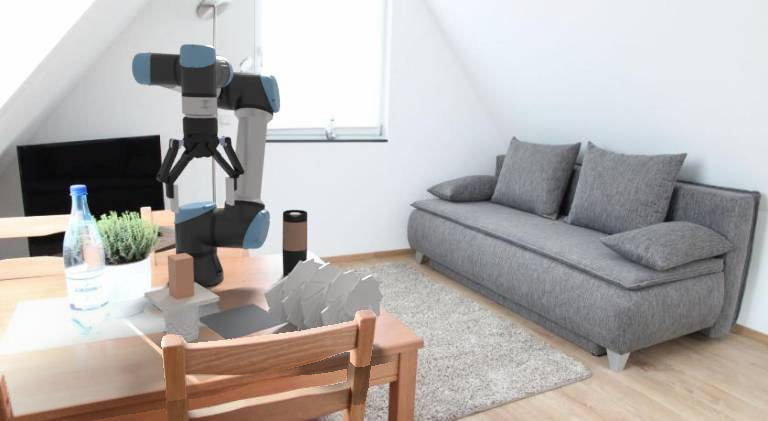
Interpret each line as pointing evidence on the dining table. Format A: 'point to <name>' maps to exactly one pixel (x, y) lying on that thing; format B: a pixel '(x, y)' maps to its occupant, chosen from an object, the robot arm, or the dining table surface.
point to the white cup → (184, 323)
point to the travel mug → (294, 239)
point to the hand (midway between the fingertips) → (203, 208)
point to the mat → (240, 321)
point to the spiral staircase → (321, 296)
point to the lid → (181, 287)
